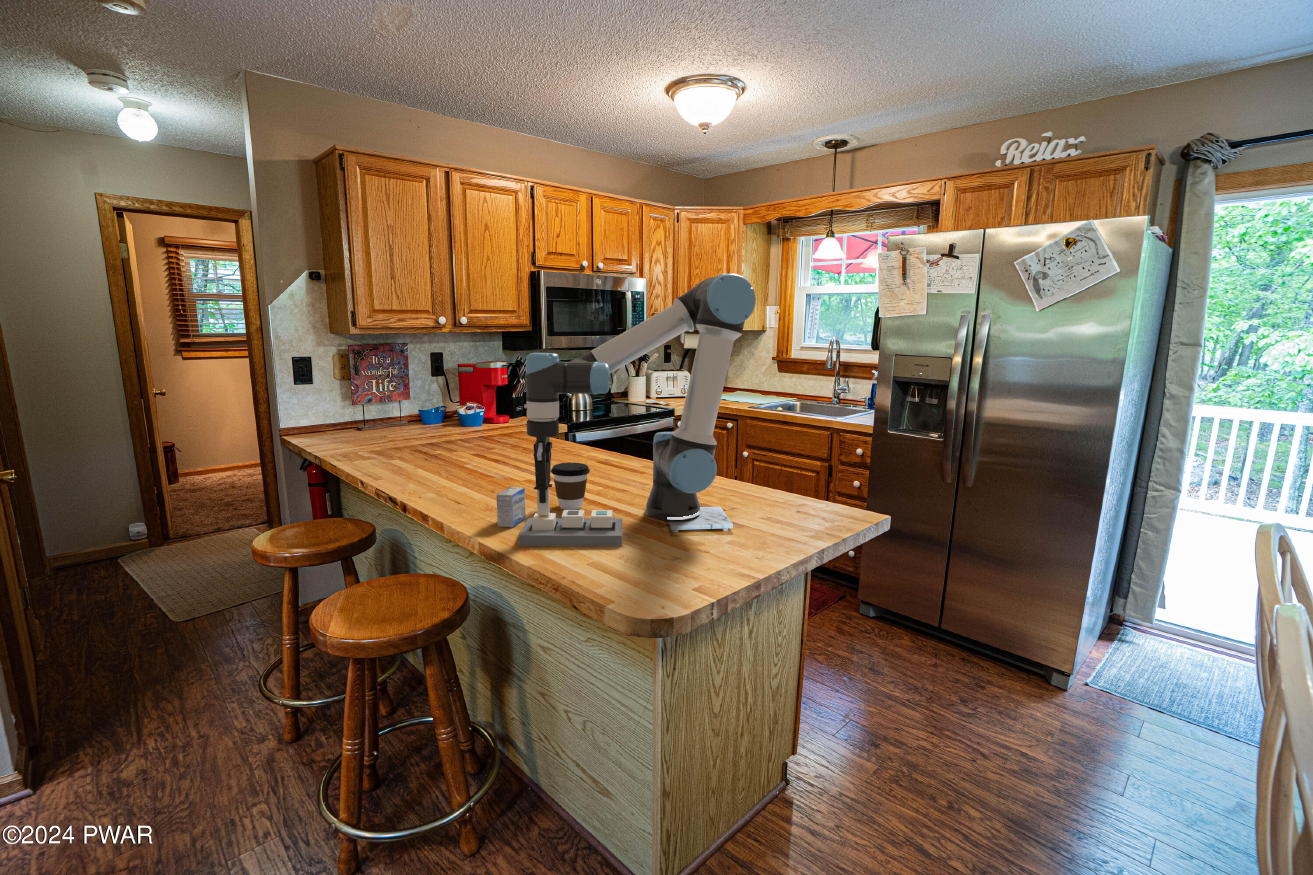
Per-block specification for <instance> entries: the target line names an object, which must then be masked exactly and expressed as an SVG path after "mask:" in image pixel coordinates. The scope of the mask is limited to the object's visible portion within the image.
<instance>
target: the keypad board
mask: <svg viewBox="0 0 1313 875" xmlns="http://www.w3.org/2000/svg"><path fill="white" fill-rule="evenodd" d="M532 519H533V517H528V518H527V519H526V521H525V523H524V524H523V527H522V529H521V531H520V533H519V535H518V546H519V547H622V546H623V518H621V517H620V518H619V517H617V518H616V517H615V518H613V517H612V528H591V517H584V524H583V528H577V527H562V517H556V525H555V528H554V530H553V531H532Z"/></svg>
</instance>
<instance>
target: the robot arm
mask: <svg viewBox="0 0 1313 875" xmlns="http://www.w3.org/2000/svg"><path fill="white" fill-rule="evenodd" d="M756 299H757V298H756V292H755V290H754V287H753V286H752V284H751V283H750V282H749V280H748V279H747V278H746V277H744V276H742V275H740V274H736V273H721V274H718V275H717V276H712V277H709V278H705V279H703V280H702V281H700V282H699V283H697V284H696V285H695V286H693V287H692V288H691V289H689V290H688V291H686V292H685V293H683V294H682V295H680V296H678V297H676V298H675V299H674V300H673V303H672V304H671V305H670V306H668V307H667V308H665V309H663V310H661V311H659V312H658V313H656V314H653V316H650V317H649V318H647V319H645V320H643V321H641V322H640V323H638V324H636V325H634V326H633V327H631V328H629V329H628V330H625V331H623V333H620V334H619V335H616V336H615V337H613V338H611V339H609V340H607V341H606V342H604V343H603V344H600V345H599V346H598V347H594V348H593V349H592V350H590V351H589V352H586V353H585V354H583V355H581V356H580V357H577V358H573V359H571V360H570V361H568V362H567V361H561V360H560V358H559V354H557V353H556V352H555V353H553V352H531V353H529V354H528V355H527V356H526V358H525V388H526V389H525V392H526V393H525V397H526V398H525V399H526V403H524V406H523V407H524V409H526V417H527V418H528V419H527V420H526V435H527V436H528V437H532V438H533V437H534V438H535V439H536V440H535V443H533V454H532V455H533V459H534V460H533V461H534V474H535V475H534V476H535V477H534V478H535V486H534V487H533V490H536V491H537V492H536V495H537V496H536V497H537V499H536V501H537V504H536V506H537V512H536V513H537V515H549V514H550V513H551V512H550V507H551V506H550V488H553V483H551V481H552V480H551V470H552V467H551V463H552V461H551V460H552V448H553V442H552V441H550V440H551V439H550V438H551V437H553V438H554V437H557V436H558V435H559V433H560V421H559V419H558V418H559V417H560V401H559V400H560V398H559V395H560V394H563V395H565V394H570V395H571V394H572V395H573V394H574V395H575V394H579V395H583V394H584V395H595V396H596V395H598V394H599V395H600V394H601V395H602V394H607V393H608V392H609V390H610V385H611V374H612V373H613V372H616V371H617V370H619V369H620V368H623V367H624V366H626V365H628V364H629V363H631V362H633V361H635V360H637V359H638V358H640V357H642V356H644V355H645V354H647V353H649V352H651V351H653V350H654V349H657V348H659V347H660V346H661V345H664V344H666V343H667V342H668V341H671V340H672V339H674V338H676V337H678V336H679V335H681V334H683V333H684V332H691V333H692V332H695V331H698V332H699V337H698V340H697V341H698V342H697V344H696V351H695V354H694V355H695V356H694V359H693V364H692V368H691V372H690V378H689V382H688V387H687V391H686V394H685V395H686V396H685V400H684V404H683V409H682V414H681V418H680V423H679V427H678V428H677V429H675V430H674V431H661V432H660V431H659V432H656V433H655V434H654V436H653V443H652V446H653V447H652V448H653V451H652V454H653V455H652V457H653V459H652V486H651V490H650V493H649V496H648V498H647V502H646V503H645V504H646V506H645V513H646V515H647V516H649V517H651V518H653V519H657V520H662V521H668V520H667V517H683V516H689V515H693V514H695V513H697V512H698V511H699V510H700V511H701V504H700V501H699V498H698V493H700V492H703V491H705V490H706V489H708V488H709V487H710V486H711V485H712V484H713V483H714V480H715V479H716V476H717V472H718V468H717V467H718V466H717V462H716V459H715V455H716V454H715V453H716V448H717V445H718V443H717V441H716V439H715V438H714V437H715V436H714V430H715V426H716V422H717V418H718V413H719V408H720V404H721V399H722V396H723V392H724V391H723V390H724V386H725V381H726V378H727V373H728V369H729V364H730V360H731V355H732V351H733V347H734V343H735V341H736V340H737V339H738V338H740V337H741V336H742V335H743V331H744V329H745V328H744V326H745V323H746V321H747V320H748V318H749V317H750V316H751V315H752V314H753V313H754V311H755V307H756V301H757V300H756Z"/></svg>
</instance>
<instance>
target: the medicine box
mask: <svg viewBox="0 0 1313 875" xmlns="http://www.w3.org/2000/svg"><path fill="white" fill-rule="evenodd" d="M525 490H526V489H525V487H517V486H511V487H508V488H507V489H505V490H503V491H501V492H499V493H498V494H496V516H497V518H496V519H497V527H501V528H502V527H503V528H511V529H513V528H515V527H516V526H518V525H519V524H521V522H523V521H524V520H525V519H526V491H525Z"/></svg>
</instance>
